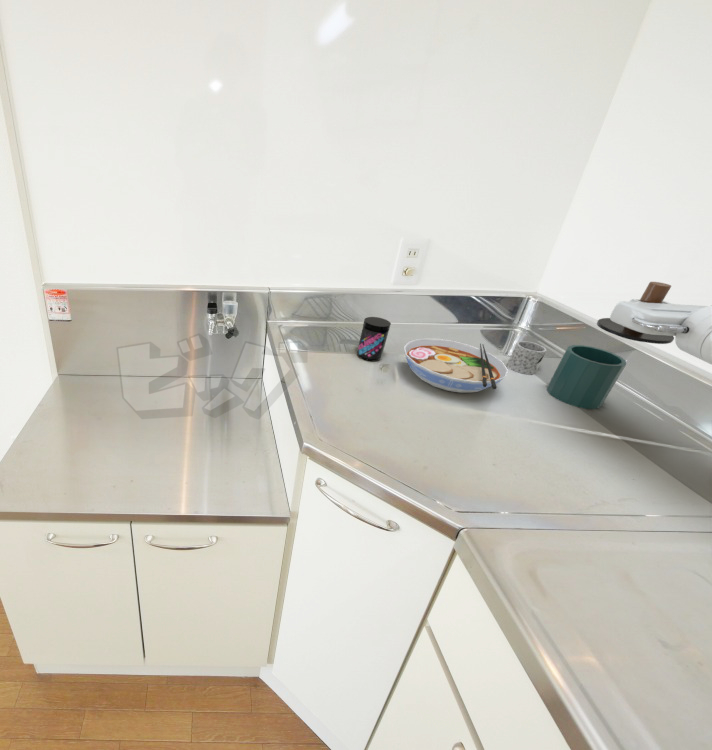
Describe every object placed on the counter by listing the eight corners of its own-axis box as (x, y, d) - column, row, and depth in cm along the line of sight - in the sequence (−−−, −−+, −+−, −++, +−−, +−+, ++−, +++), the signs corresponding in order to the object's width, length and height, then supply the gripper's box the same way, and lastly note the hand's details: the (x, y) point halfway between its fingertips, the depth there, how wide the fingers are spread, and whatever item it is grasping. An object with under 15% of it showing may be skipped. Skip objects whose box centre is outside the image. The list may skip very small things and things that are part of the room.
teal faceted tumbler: (585, 394, 104) (611, 349, 97) (606, 418, 95) (636, 369, 89) (537, 387, 106) (560, 342, 100) (553, 408, 97) (579, 361, 91)
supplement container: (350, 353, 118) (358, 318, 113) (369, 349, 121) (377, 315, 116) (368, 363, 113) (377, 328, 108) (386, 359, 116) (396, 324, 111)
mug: (539, 376, 111) (550, 353, 108) (511, 371, 113) (521, 349, 109) (527, 359, 119) (537, 338, 116) (501, 355, 121) (510, 334, 118)
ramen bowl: (401, 353, 120) (409, 327, 115) (493, 374, 111) (505, 346, 107) (389, 394, 100) (398, 363, 96) (500, 423, 91) (515, 391, 87)
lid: (649, 328, 87) (678, 279, 82) (685, 351, 77) (720, 297, 72) (584, 320, 89) (609, 272, 84) (612, 341, 80) (641, 288, 75)
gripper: (640, 346, 71) (581, 316, 83) (765, 353, 70) (688, 322, 82) (661, 310, 68) (597, 284, 80) (792, 318, 67) (708, 290, 79)
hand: (644, 303), depth 81 cm, fingers closed on lid, 3 cm apart
